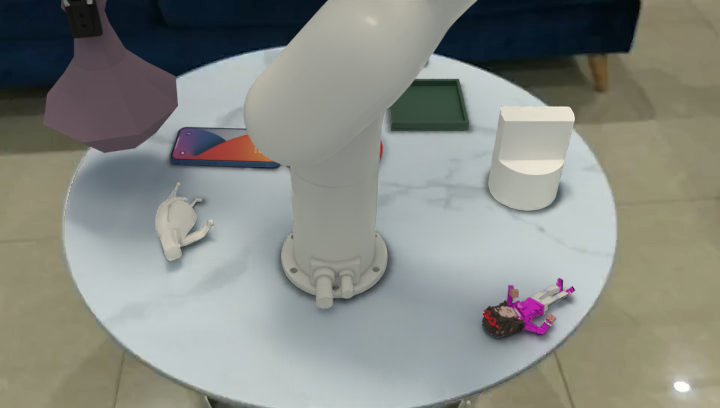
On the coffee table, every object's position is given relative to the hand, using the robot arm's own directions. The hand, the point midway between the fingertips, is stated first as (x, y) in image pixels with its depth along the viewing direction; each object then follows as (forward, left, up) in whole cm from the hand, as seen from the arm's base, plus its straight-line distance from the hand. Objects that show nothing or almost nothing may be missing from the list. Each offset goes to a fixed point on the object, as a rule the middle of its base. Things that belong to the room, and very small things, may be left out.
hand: (88, 21), depth 90 cm
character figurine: (-19, -53, -23) cm, 61 cm away
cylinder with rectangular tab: (0, -52, -25) cm, 57 cm away
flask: (0, -1, -15) cm, 15 cm away
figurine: (-8, -9, -25) cm, 28 cm away
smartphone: (+8, -12, -25) cm, 29 cm away
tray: (+18, -41, -25) cm, 51 cm away
